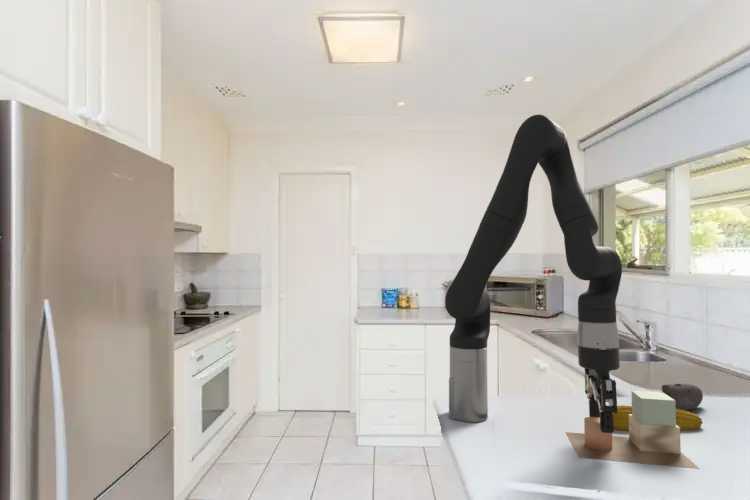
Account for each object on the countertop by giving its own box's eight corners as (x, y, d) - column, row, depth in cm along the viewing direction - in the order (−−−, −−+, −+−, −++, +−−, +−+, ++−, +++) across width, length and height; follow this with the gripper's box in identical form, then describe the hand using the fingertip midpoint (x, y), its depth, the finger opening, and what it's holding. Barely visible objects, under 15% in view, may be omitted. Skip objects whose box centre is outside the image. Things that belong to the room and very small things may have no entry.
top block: (641, 424, 90) (641, 398, 90) (632, 414, 96) (631, 390, 96) (676, 426, 88) (675, 400, 89) (663, 417, 94) (663, 392, 95)
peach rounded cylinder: (587, 449, 89) (587, 423, 90) (582, 440, 94) (581, 416, 95) (615, 452, 88) (615, 425, 89) (608, 442, 93) (608, 417, 93)
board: (579, 462, 86) (578, 457, 86) (565, 436, 99) (565, 432, 99) (699, 474, 81) (699, 468, 81) (668, 445, 95) (667, 440, 95)
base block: (640, 450, 89) (639, 424, 89) (629, 437, 96) (628, 413, 96) (680, 454, 88) (679, 427, 88) (666, 441, 94) (665, 416, 95)
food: (616, 437, 100) (615, 409, 100) (602, 428, 106) (602, 402, 106) (709, 436, 101) (708, 408, 101) (690, 427, 107) (689, 401, 107)
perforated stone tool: (692, 404, 125) (691, 378, 125) (712, 409, 120) (711, 383, 120) (654, 410, 119) (653, 383, 120) (673, 416, 115) (673, 388, 115)
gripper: (571, 338, 100) (573, 413, 99) (586, 349, 86) (589, 436, 85) (607, 339, 99) (610, 415, 98) (629, 350, 85) (633, 438, 84)
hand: (601, 425), depth 92 cm, fingers open, 8 cm apart
